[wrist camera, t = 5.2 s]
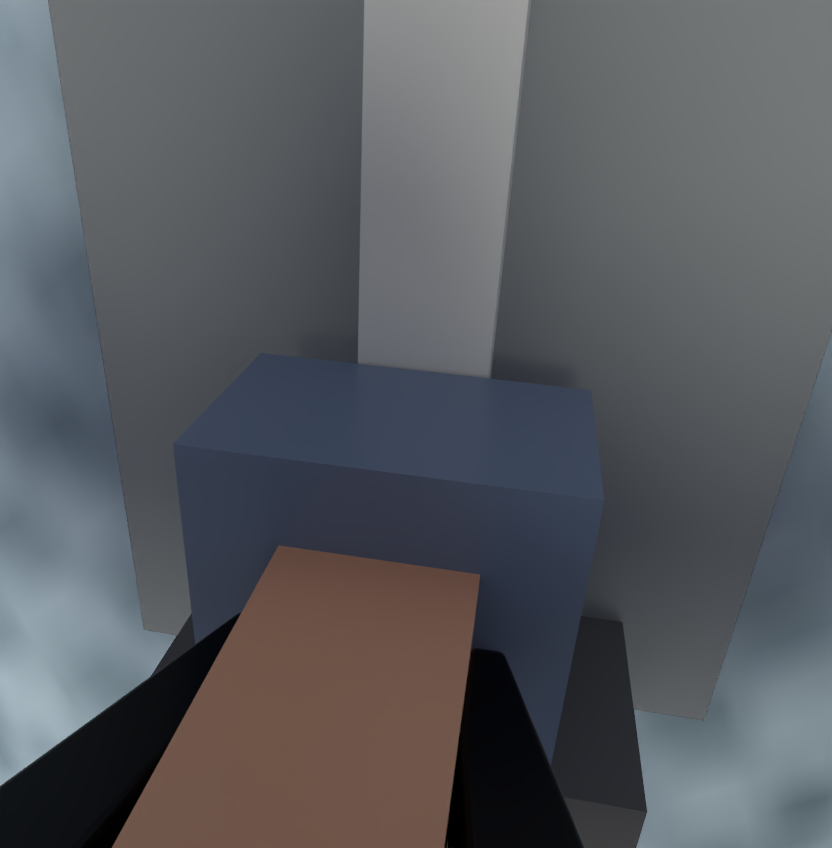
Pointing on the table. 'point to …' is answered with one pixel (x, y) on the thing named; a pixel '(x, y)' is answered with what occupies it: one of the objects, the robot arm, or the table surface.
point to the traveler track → (480, 270)
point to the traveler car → (366, 595)
